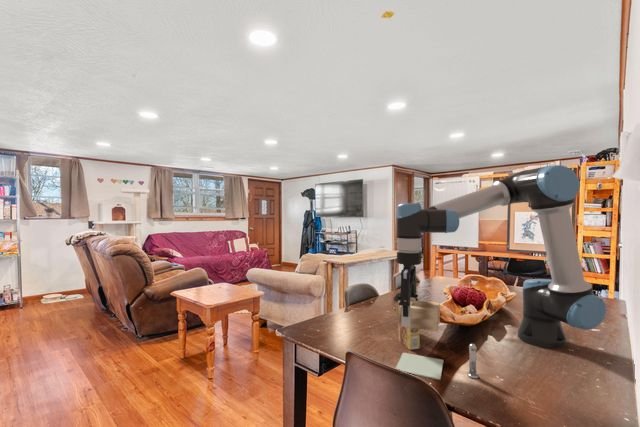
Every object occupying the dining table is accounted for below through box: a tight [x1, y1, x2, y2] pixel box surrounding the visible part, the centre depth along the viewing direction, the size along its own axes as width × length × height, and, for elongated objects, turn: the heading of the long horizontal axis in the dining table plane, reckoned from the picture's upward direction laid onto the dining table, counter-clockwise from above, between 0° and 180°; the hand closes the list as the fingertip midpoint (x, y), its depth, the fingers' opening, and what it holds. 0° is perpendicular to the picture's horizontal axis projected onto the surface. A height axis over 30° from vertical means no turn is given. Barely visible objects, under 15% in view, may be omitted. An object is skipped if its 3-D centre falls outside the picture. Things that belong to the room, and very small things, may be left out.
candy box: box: [397, 300, 421, 350], centre depth 115 cm, size 9×4×15 cm, turn 13°
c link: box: [400, 300, 441, 332], centre depth 99 cm, size 11×9×6 cm
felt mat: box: [395, 352, 444, 381], centre depth 99 cm, size 13×13×1 cm
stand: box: [466, 343, 479, 380], centre depth 93 cm, size 3×3×10 cm
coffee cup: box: [393, 292, 419, 330], centre depth 128 cm, size 9×9×15 cm
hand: (408, 321), depth 101 cm, fingers closed on c link, 9 cm apart
